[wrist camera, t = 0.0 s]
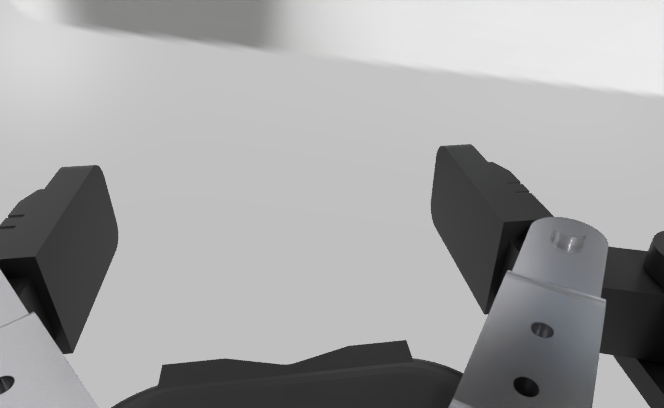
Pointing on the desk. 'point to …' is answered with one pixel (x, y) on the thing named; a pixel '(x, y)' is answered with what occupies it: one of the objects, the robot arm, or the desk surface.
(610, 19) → the desk surface
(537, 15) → the desk surface
